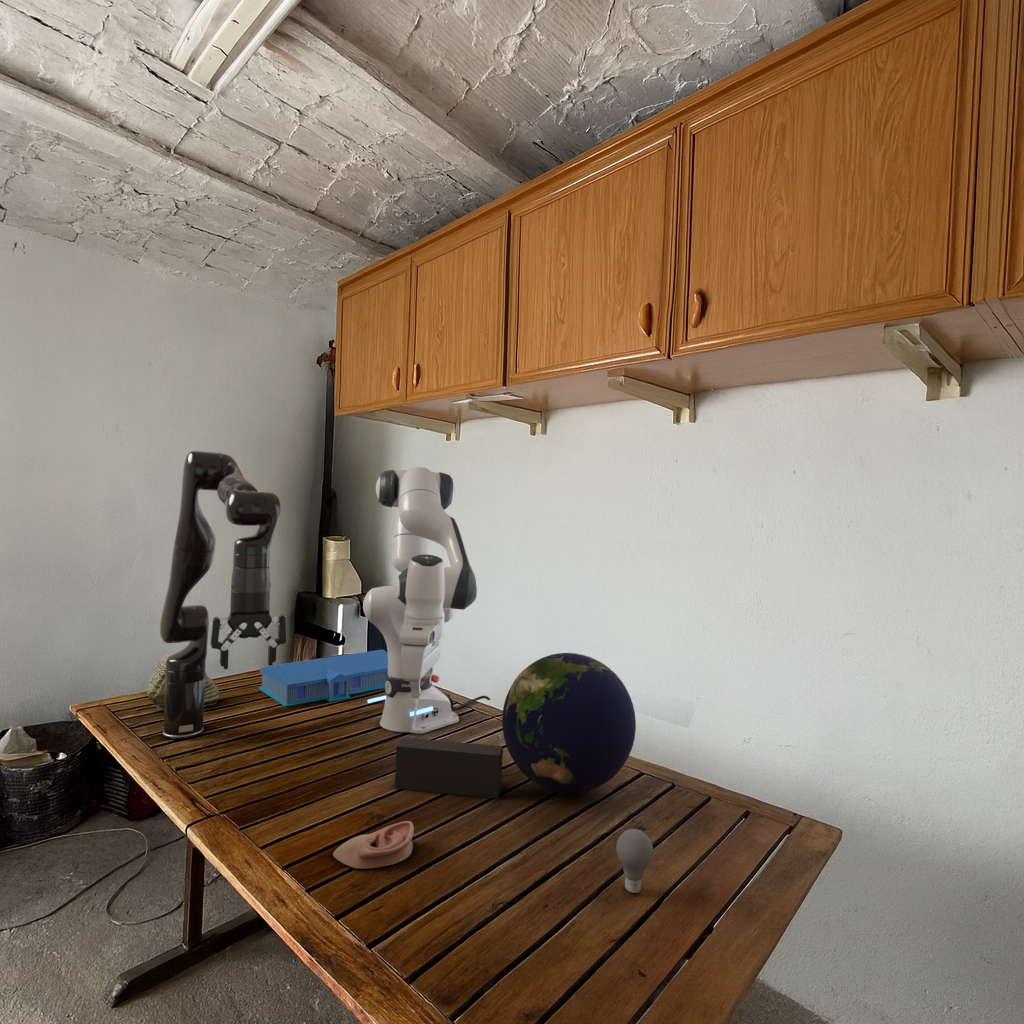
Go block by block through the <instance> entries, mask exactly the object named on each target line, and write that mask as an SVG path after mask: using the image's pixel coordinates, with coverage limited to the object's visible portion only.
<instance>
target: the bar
mask: <svg viewBox="0 0 1024 1024" xmlns="http://www.w3.org/2000/svg"><path fill="white" fill-rule="evenodd" d="M503 758H504V746H503V745H495V744H492V745H491V744H482V743H471V742H461V741H450V740H438V739H427V738H414V737H405V736H403V737H402V739H400V741H399V742H398V743H397V745H396V746H395V769H394V770H395V771H394V789H397V790H405V791H416V792H424V793H425V792H427V793H436V794H447V795H456V796H467V797H477V798H487V799H489V798H490V799H496V800H497V799H499V796H500V793H501V790H502V779H503V776H502V775H503Z"/></svg>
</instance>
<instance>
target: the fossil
mask: <svg viewBox="0 0 1024 1024" xmlns="http://www.w3.org/2000/svg"><path fill="white" fill-rule="evenodd" d="M171 655H172V654H165V655H164V656H163V657H162V658H161V659H160V660H159V662H158V663H157V666H156V667H155V669H154V670H153V672H152V675H151V677H150V680H149V684H148V688H147V697H148V699H149V700H150V701H152V703H153V704H154V706H155V711H158V712H159V711H162V712H163V711H164V705H165V674H166V660H167V658H168V657H169V656H171ZM220 698H221V696H220V690H219V688H218V686H217V685H216V683H215V682H214V681H213V679H212V678H211V677H209V675H208V674H207V672H206V671H205V693H204V707H207V706H213V705H215V704H217V703H218V701H219V699H220Z"/></svg>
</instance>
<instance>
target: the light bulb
mask: <svg viewBox="0 0 1024 1024" xmlns="http://www.w3.org/2000/svg"><path fill="white" fill-rule="evenodd" d="M615 849H616V854H617V857H618V859H619V861H620V863H621V865H622V867H623V873H624V874H623V875H624V876H625V878H624V888H625V890H627V891H628V892H630V893H634V894H635V893H639V892H640V891H641V889H642V887H641V886H642V879H643V877H644V875H645V871H646V868H647V867H648V866H649V864H650V863H651V861H652V859H653V855H654V847H653V843H652V841H651V838H649V836H648V835H647V834H646V833H645V832H643V831H642V830H641V829H636V828H629V829H627V830H625V831H623V832H622V833H621V834H620V835H619V837H618V839H617V841H616V847H615Z"/></svg>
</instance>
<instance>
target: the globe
mask: <svg viewBox="0 0 1024 1024" xmlns="http://www.w3.org/2000/svg"><path fill="white" fill-rule="evenodd" d="M501 715H502V716H501V718H502V719H501V727H502V734H503V739H504V742H505V747H506V749H507V751H508V753H509V756H510V757H511V759H512V761H513V762H514V763H515V765H516V767H518V769H519V770H520V772H522V773H523V775H525V776H526V777H527V778H528V779H529V780H531V781H532V782H534V783H535V784H536V785H538V786H540V787H542V788H544V789H547V790H550V791H553V792H557V793H561V794H580V793H581V794H582V793H585V792H589V791H592V790H594V789H597V788H599V787H601V786H603V785H605V784H606V783H607V782H609V781H610V780H612V779H613V778H614V777H615V776H616V775H617V774H618V773H619V772H620V770H621V769H622V768H623V766H624V765H625V763H626V762H627V761H628V759H629V757H630V755H631V752H632V749H633V746H634V743H635V738H636V732H637V730H636V729H637V720H636V712H635V708H634V703H633V700H632V697H631V695H630V693H629V691H628V689H627V687H626V685H625V684H624V682H623V681H622V680H621V678H620V677H619V675H618V674H617V673H615V671H613V670H612V669H611V668H610V667H609V666H607V665H606V664H604V663H603V662H601V661H600V660H598V659H596V658H593V657H591V656H589V655H585V654H581V653H577V652H559V653H558V652H557V653H554V654H553V653H552V654H548V655H546V656H543V657H541V658H539V659H536V661H533V662H532V663H531V664H529V665H528V666H527V667H525V668H524V669H522V671H521V672H520V673H519V674H518V675H517V677H516V678H515V679H514V680H513V682H512V684H511V686H510V688H509V689H508V691H507V694H506V696H505V700H504V703H503V707H502V714H501Z"/></svg>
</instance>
